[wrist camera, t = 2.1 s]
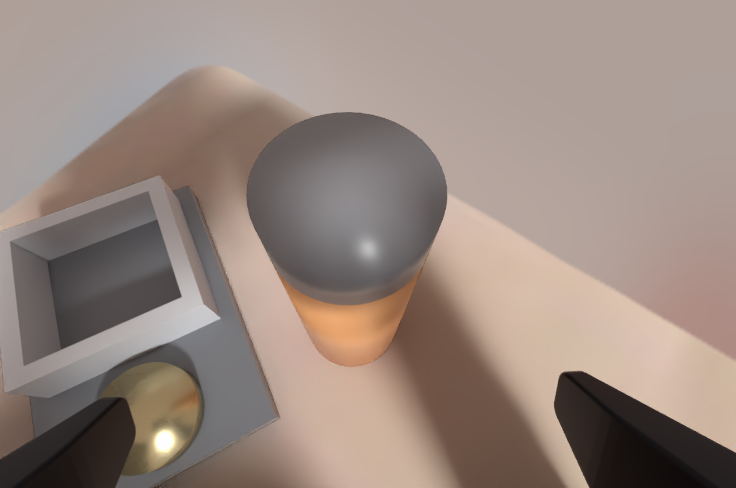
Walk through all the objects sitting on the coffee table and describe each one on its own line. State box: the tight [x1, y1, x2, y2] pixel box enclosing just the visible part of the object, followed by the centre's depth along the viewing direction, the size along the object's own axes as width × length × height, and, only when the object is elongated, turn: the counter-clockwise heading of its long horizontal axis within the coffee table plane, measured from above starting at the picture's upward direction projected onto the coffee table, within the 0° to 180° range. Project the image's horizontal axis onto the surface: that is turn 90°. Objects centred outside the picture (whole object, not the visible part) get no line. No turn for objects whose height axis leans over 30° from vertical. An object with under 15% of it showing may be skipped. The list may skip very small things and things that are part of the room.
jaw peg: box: [247, 112, 447, 367], centre depth 15 cm, size 5×5×13 cm
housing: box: [0, 175, 280, 488], centre depth 19 cm, size 15×10×4 cm, turn 27°
